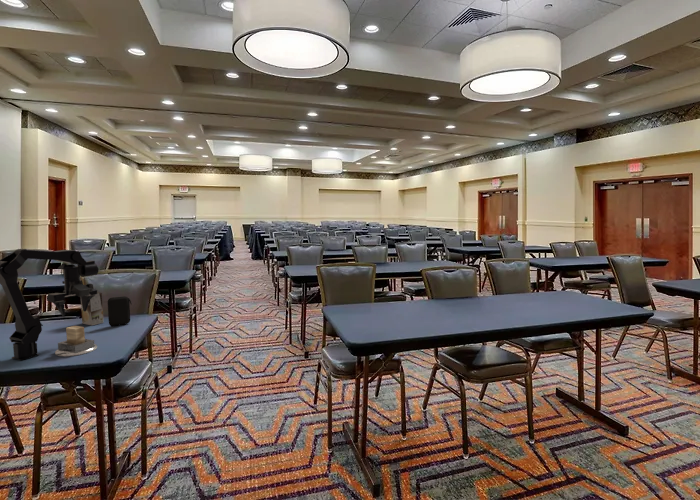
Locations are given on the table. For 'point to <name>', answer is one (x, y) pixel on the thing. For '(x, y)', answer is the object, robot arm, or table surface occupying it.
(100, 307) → the coffee box
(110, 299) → the carrying case or bag
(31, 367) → the table surface
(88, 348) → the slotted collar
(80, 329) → the light wood block
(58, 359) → the table surface
